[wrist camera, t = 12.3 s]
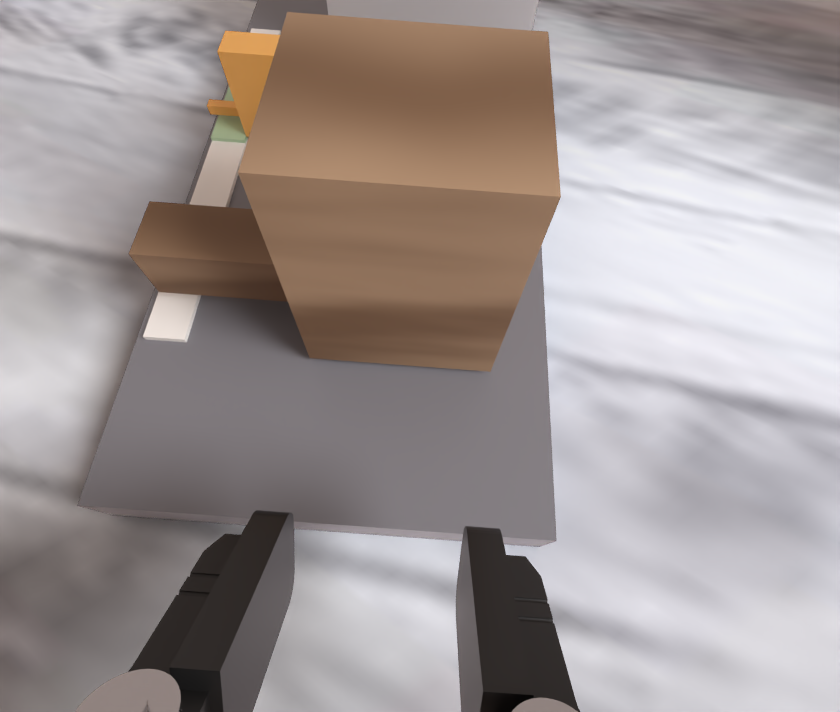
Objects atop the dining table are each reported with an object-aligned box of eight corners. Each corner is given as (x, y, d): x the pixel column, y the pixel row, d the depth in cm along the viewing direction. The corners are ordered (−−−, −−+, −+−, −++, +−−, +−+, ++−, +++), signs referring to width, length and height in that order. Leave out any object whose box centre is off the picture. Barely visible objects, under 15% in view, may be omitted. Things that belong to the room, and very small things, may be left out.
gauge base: (539, 546, 16) (814, 452, 5) (113, 515, 16) (-466, 356, 5) (520, 49, 28) (598, -303, 17) (270, 30, 27) (185, -335, 17)
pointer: (307, 141, 21) (290, 57, 17) (208, 133, 21) (171, 48, 17) (312, 121, 21) (296, 36, 18) (214, 114, 21) (181, 27, 18)
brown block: (490, 371, 16) (560, 196, 9) (159, 346, 16) (-32, 152, 9) (490, 250, 19) (548, 31, 11) (198, 228, 19) (69, -5, 11)
